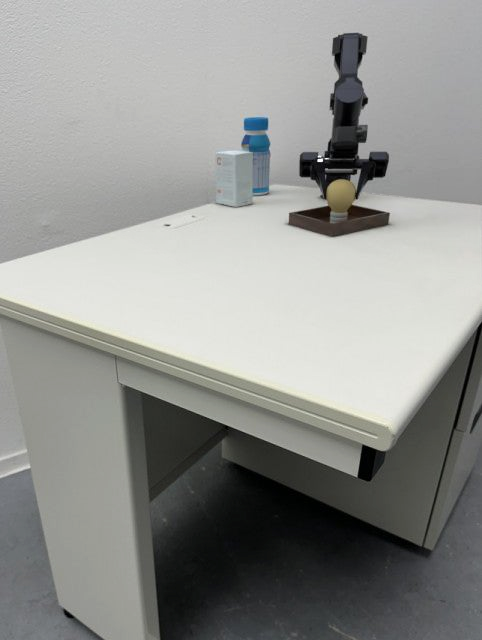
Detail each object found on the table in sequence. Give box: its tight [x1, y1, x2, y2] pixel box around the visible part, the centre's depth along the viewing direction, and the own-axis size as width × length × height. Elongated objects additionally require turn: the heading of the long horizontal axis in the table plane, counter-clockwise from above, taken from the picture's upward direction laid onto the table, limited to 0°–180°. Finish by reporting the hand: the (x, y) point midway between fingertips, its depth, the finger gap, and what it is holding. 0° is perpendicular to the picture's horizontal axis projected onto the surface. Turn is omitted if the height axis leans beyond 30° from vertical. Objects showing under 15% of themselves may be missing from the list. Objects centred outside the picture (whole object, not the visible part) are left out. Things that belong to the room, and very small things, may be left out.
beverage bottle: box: [240, 116, 272, 196], centre depth 154 cm, size 8×8×20 cm
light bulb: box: [325, 179, 357, 224], centre depth 119 cm, size 6×6×10 cm
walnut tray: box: [287, 204, 391, 238], centre depth 123 cm, size 17×14×3 cm
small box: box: [215, 149, 254, 208], centre depth 144 cm, size 8×6×13 cm
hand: (340, 198), depth 117 cm, fingers closed on light bulb, 6 cm apart
